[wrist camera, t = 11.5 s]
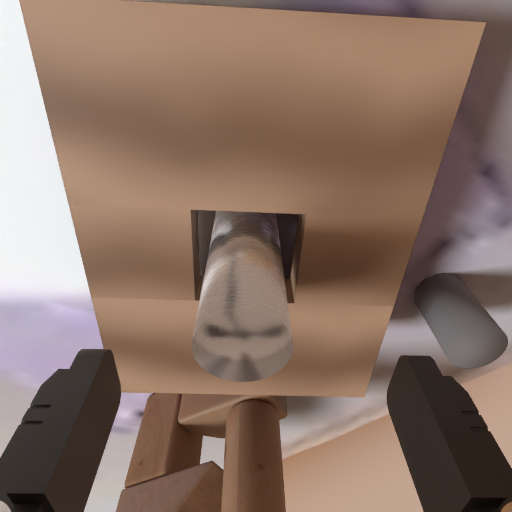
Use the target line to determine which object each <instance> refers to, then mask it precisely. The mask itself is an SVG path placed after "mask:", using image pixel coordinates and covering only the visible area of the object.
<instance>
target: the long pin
mask: <svg viewBox="0 0 512 512" xmlns="http://www.w3.org/2000/svg"><path fill="white" fill-rule="evenodd" d="M292 351H293V341H292V333H291V325H290V317H289V310H288V302H287V294H286V287H285V279H284V271H283V264H282V256H281V248H280V240H279V233H278V225H277V217H276V213H262V212H236V211H216V214H215V220H214V225H213V230H212V236H211V241H210V247H209V252H208V257H207V263H206V268H205V274H204V279H203V284H202V290H201V295H200V301H199V306H198V311H197V317H196V322H195V328H194V333H193V338H192V352H193V355H194V358H195V359H196V361H197V362H198V364H199V365H200V366H201V367H202V368H203V369H204V370H206V371H207V372H208V373H210V374H212V375H214V376H216V377H218V378H221V379H225V380H229V381H235V382H250V381H257V380H261V379H264V378H267V377H269V376H272V375H273V374H275V373H277V372H278V371H280V370H281V369H282V368H283V367H284V366H285V365H286V364H287V363H288V361H289V359H290V357H291V355H292Z"/></svg>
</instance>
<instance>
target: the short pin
mask: <svg viewBox="0 0 512 512" xmlns="http://www.w3.org/2000/svg"><path fill="white" fill-rule="evenodd" d="M414 300H415V303H416V305H417V307H418V308H419V310H420V312H421V313H422V315H423V317H424V318H425V320H426V322H427V324H428V325H429V327H430V329H431V330H432V332H433V334H434V336H435V337H436V339H437V341H438V342H439V344H440V346H441V348H442V349H443V351H444V353H445V354H446V356H447V358H448V359H449V361H450V362H451V363H452V364H453V365H455V366H457V367H460V368H477V367H481V366H484V365H487V364H489V363H491V362H493V361H494V360H496V359H497V358H498V357H500V356H501V355H502V354H503V352H504V351H505V349H506V347H507V344H508V339H507V336H506V334H505V333H504V332H503V331H502V330H501V328H500V327H499V326H498V325H497V323H496V322H495V321H494V320H493V318H492V317H491V316H490V315H489V314H488V312H487V311H486V310H485V309H484V307H483V306H482V305H481V304H480V302H479V301H478V300H477V299H476V298H475V296H474V295H473V294H472V293H471V291H470V290H469V289H468V288H467V287H466V285H465V284H464V283H463V282H462V280H461V279H460V278H459V277H457V276H456V275H453V274H449V273H441V274H436V275H433V276H431V277H429V278H427V279H425V280H424V281H423V282H422V283H421V284H420V285H419V286H418V287H417V289H416V291H415V294H414Z"/></svg>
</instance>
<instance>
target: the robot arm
mask: <svg viewBox="0 0 512 512" xmlns="http://www.w3.org/2000/svg"><path fill="white" fill-rule="evenodd" d="M120 398H121V384H120V379H119V375H118V371H117V367H116V364H115V360H114V356H113V352H112V351H111V350H110V349H82V350H80V351H79V352H78V354H77V355H76V357H75V359H74V361H73V363H72V365H71V367H70V369H58V370H57V371H56V372H55V373H54V374H53V375H52V376H51V377H50V378H49V379H48V380H46V381H45V382H44V383H43V384H42V385H41V387H40V389H39V390H38V392H37V394H36V396H35V397H34V399H33V401H32V403H31V407H30V409H29V408H28V410H27V412H26V413H25V415H24V417H23V419H22V422H21V425H19V426H18V428H17V429H16V431H15V433H14V435H13V437H12V438H11V440H10V442H9V444H8V445H7V447H6V449H5V451H4V452H3V454H2V456H1V458H0V512H84V509H85V506H86V503H87V500H88V497H89V494H90V491H91V488H92V485H93V482H94V479H95V476H96V473H97V470H98V467H99V464H100V461H101V458H102V455H103V452H104V449H105V446H106V443H107V440H108V437H109V434H110V431H111V428H112V425H113V422H114V420H115V417H116V414H117V411H118V407H119V404H120ZM387 405H388V410H389V413H390V416H391V419H392V422H393V425H394V427H395V431H396V433H397V436H398V439H399V442H400V445H401V448H402V451H403V453H404V456H405V459H406V462H407V465H408V467H409V471H410V473H411V476H412V479H413V482H414V485H415V488H416V491H417V494H418V496H419V499H420V502H421V505H422V507H423V511H424V512H512V468H511V467H510V465H509V463H508V462H507V460H506V458H505V456H504V455H503V453H502V451H501V450H500V448H499V446H498V444H497V442H496V441H495V439H494V437H493V435H492V434H491V432H490V431H488V428H487V425H486V423H485V422H484V420H483V418H482V417H481V415H479V413H478V410H477V408H476V406H475V404H474V403H473V401H472V399H471V398H470V396H469V394H468V392H467V391H466V390H465V389H464V388H463V387H462V386H461V385H460V384H459V383H458V382H456V381H455V380H454V379H453V378H452V377H451V376H442V374H441V372H440V370H439V368H438V367H437V365H436V363H435V361H434V360H433V358H431V357H430V356H407V355H402V356H401V357H400V358H399V360H398V362H397V365H396V368H395V370H394V373H393V376H392V379H391V381H390V384H389V387H388V390H387Z"/></svg>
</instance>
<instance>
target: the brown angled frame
mask: <svg viewBox="0 0 512 512" xmlns="http://www.w3.org/2000/svg"><path fill="white" fill-rule="evenodd" d="M285 417H287V406H286V396H278V395H229V394H180V393H155V394H152V395H150V396H149V397H148V399H147V403H146V407H145V410H144V414H143V418H142V421H141V425H140V429H139V433H138V436H137V440H136V444H135V447H134V451H133V455H132V458H131V462H130V466H129V469H128V473H127V477H126V480H125V488H126V489H123V490H122V492H121V495H120V498H119V502H118V506H117V509H116V512H286V509H285V494H284V481H283V467H282V453H281V440H280V426H279V420H280V419H283V418H285ZM203 436H210V437H216V438H225V455H224V470H222V469H221V468H220V467H219V466H218V465H217V464H216V463H214V462H213V461H209V462H206V463H203V464H200V456H201V448H202V439H203Z"/></svg>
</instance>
